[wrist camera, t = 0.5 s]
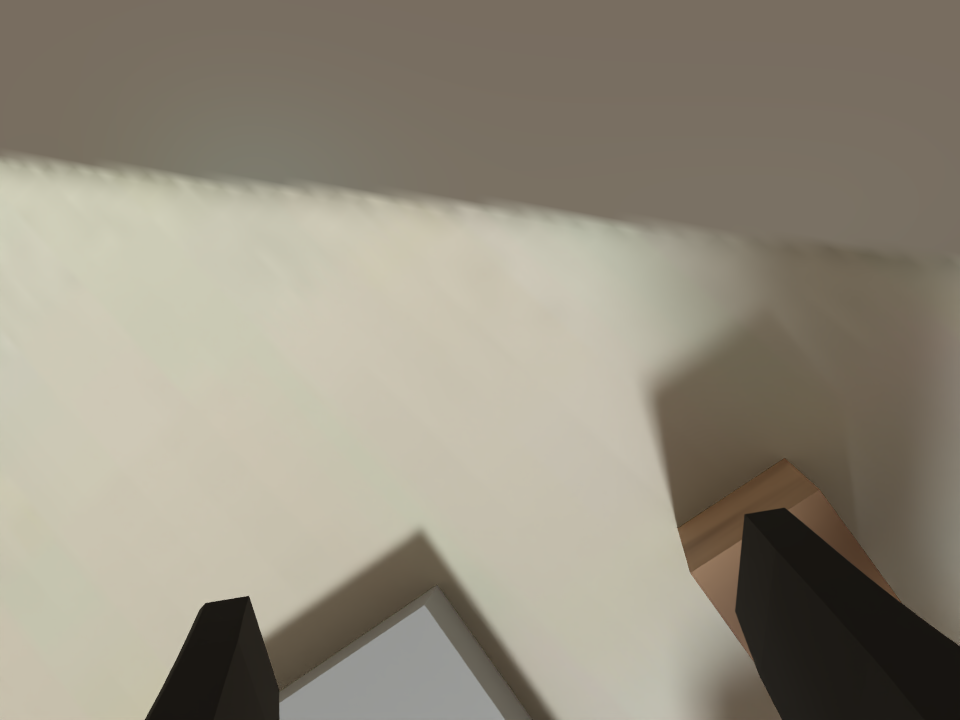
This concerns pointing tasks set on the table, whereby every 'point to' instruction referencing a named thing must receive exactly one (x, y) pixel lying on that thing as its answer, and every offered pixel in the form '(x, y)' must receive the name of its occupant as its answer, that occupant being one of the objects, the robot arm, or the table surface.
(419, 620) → the slate block
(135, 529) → the table surface
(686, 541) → the walnut block
